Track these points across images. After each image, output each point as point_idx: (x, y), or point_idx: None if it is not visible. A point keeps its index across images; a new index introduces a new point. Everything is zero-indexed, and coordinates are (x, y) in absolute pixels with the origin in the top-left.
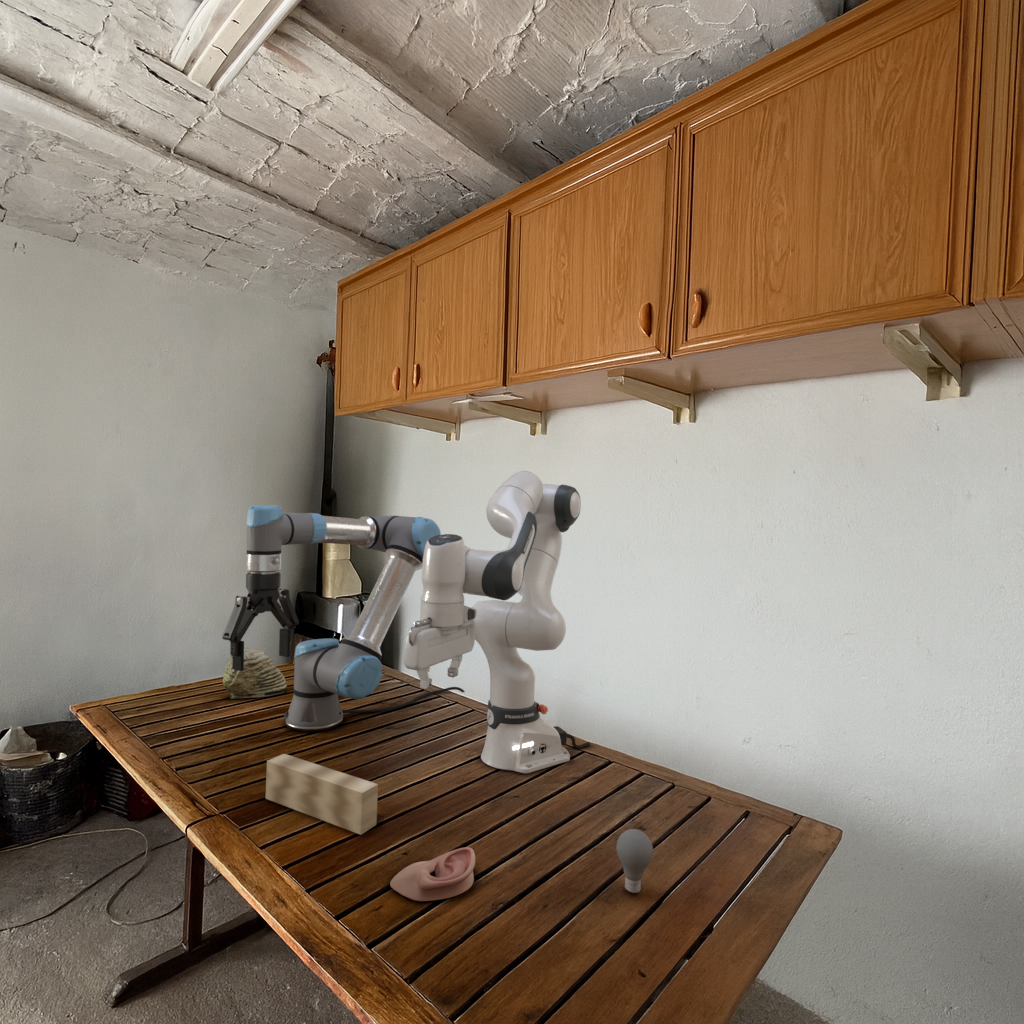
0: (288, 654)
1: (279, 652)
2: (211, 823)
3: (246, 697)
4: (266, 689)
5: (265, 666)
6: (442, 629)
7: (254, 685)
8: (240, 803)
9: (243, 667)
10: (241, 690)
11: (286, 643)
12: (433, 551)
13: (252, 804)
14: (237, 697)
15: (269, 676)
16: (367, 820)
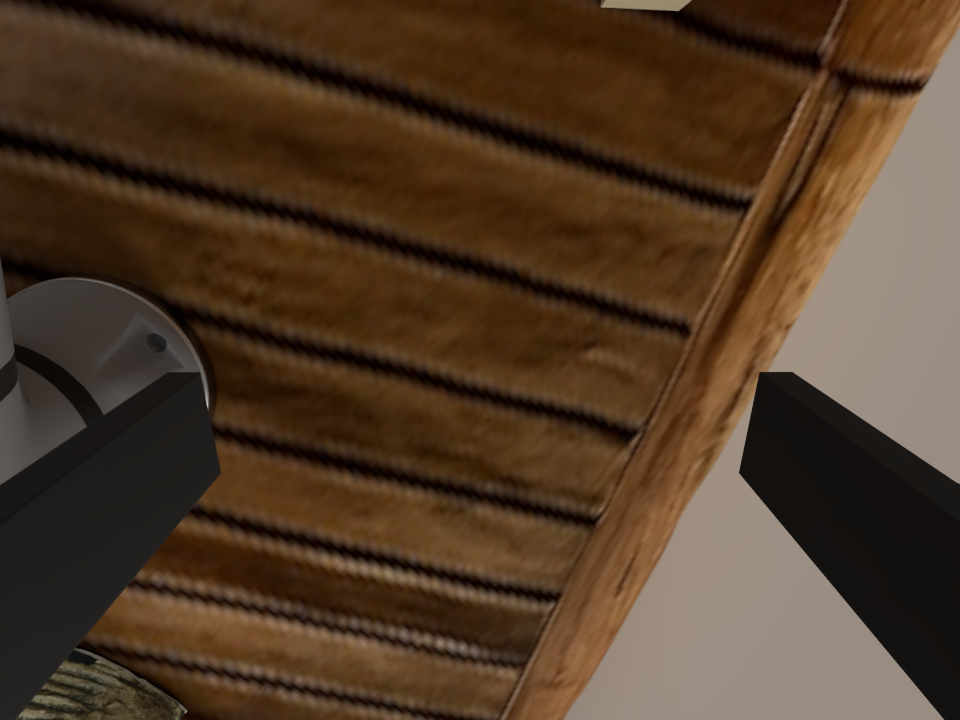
0: (171, 382)
1: (205, 487)
2: (890, 30)
3: (148, 684)
4: (76, 676)
5: None
6: None
7: (103, 708)
8: (739, 65)
9: (775, 383)
10: (151, 712)
11: (110, 461)
12: None
13: (730, 18)
14: (170, 699)
15: (31, 716)
16: None
